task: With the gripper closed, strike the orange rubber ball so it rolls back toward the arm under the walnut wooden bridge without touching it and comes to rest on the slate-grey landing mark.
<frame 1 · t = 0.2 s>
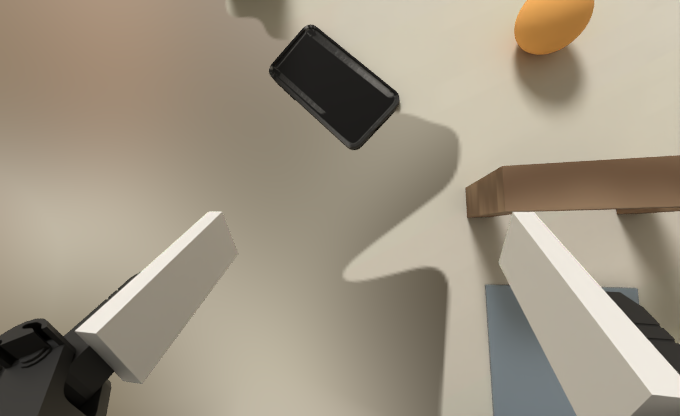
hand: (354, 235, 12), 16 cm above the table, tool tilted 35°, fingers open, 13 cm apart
phone: (332, 89, 31), on the table
ball: (551, 19, 23), on the table
landing mark: (562, 354, 23), on the table
bridge: (548, 199, 25), on the table
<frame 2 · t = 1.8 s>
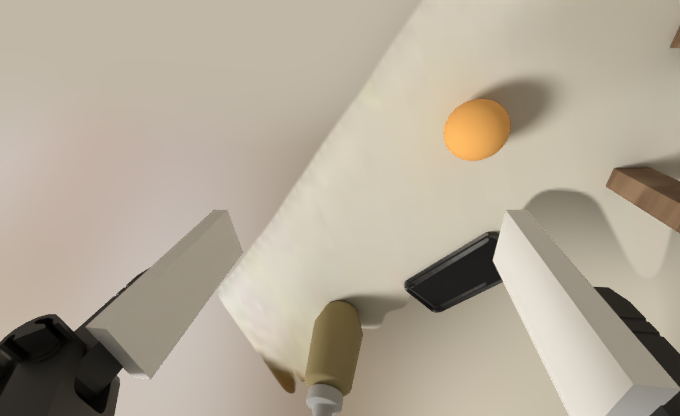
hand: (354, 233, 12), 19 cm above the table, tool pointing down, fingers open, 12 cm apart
phone: (459, 271, 37), on the table
ball: (475, 130, 24), on the table
bridge: (658, 113, 23), on the table
squeeze bottle: (341, 310, 45), on the table
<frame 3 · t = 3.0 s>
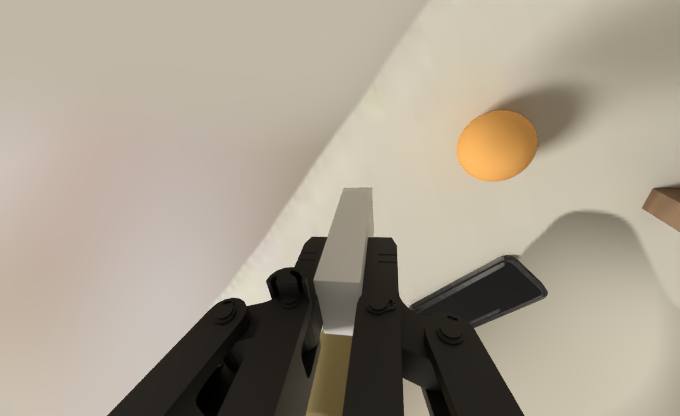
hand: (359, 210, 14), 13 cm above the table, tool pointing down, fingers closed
phone: (470, 296, 34), on the table
ball: (494, 146, 21), on the table
squeeze bottle: (340, 333, 42), on the table
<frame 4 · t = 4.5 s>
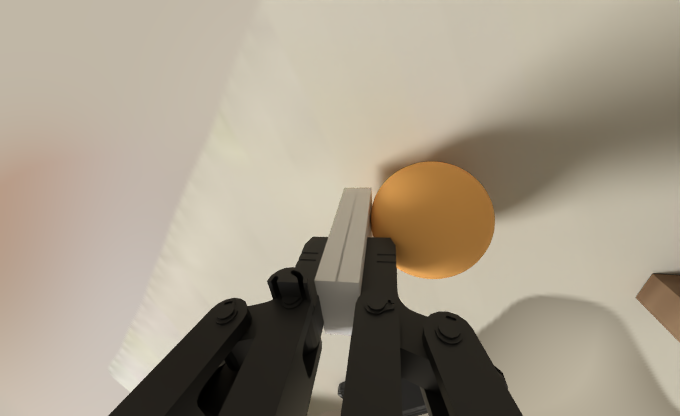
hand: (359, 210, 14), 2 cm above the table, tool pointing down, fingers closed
phone: (412, 377, 26), on the table
ball: (428, 219, 12), on the table, touching gripper
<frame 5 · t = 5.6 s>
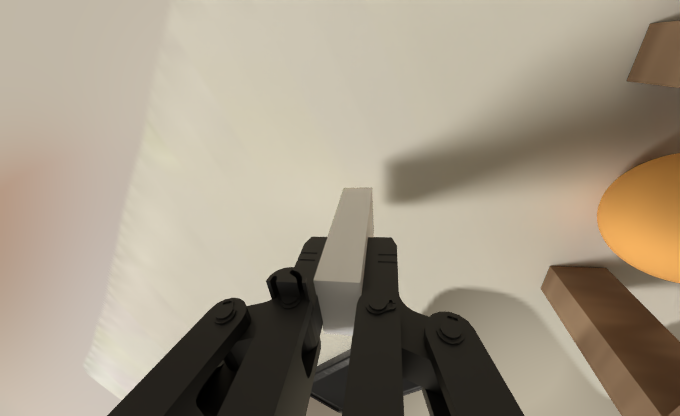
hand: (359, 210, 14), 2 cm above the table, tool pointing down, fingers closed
phone: (364, 369, 27), on the table
bridge: (614, 191, 13), on the table
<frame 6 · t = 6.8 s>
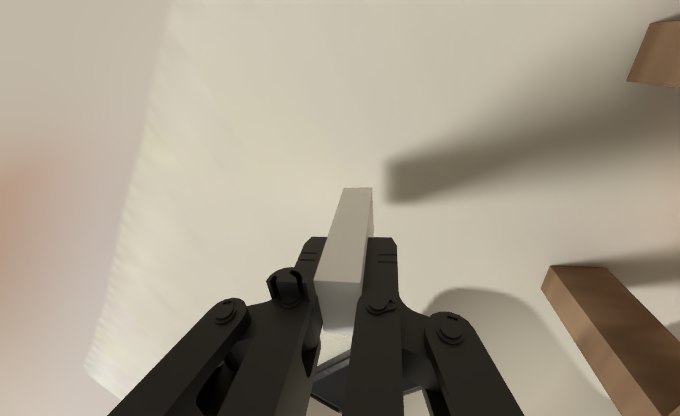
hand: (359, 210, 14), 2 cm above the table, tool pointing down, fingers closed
phone: (364, 369, 27), on the table
bridge: (614, 191, 13), on the table
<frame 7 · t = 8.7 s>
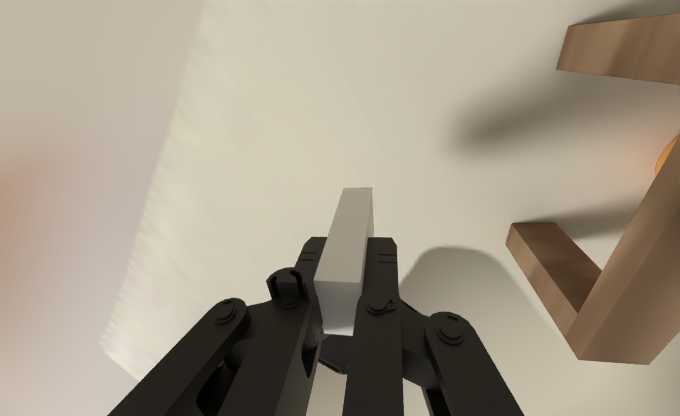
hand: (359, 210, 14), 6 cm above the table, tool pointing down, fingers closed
phone: (360, 331, 31), on the table
bridge: (555, 157, 17), on the table
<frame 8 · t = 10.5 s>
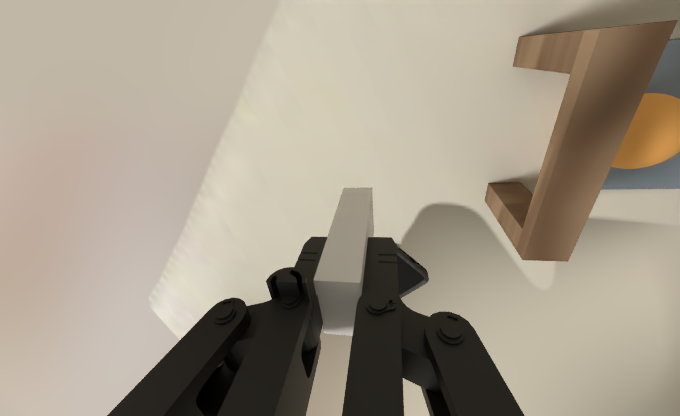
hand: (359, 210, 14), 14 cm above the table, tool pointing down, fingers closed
phone: (370, 282, 37), on the table
ball: (634, 132, 20), on the table
bridge: (517, 130, 24), on the table
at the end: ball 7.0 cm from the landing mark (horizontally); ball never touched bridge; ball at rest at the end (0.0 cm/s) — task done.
